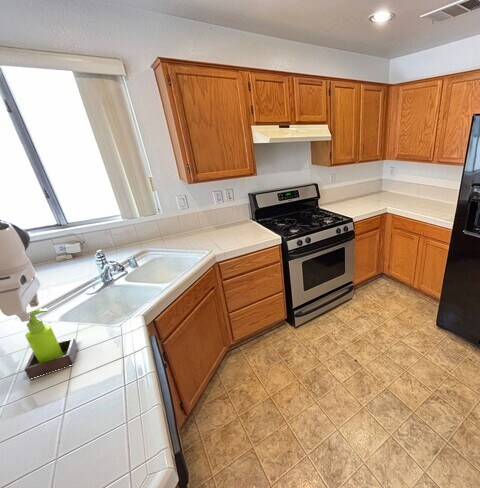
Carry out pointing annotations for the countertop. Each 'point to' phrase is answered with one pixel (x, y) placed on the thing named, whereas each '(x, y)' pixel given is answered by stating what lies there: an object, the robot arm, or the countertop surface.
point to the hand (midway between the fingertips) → (31, 312)
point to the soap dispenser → (42, 338)
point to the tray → (52, 360)
